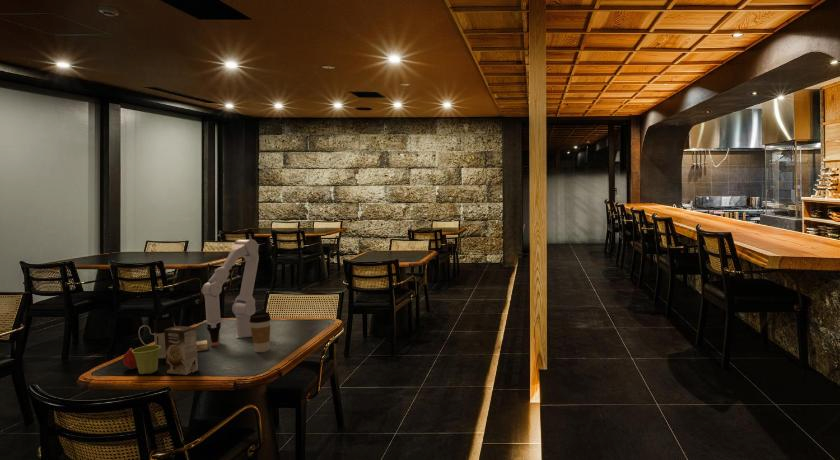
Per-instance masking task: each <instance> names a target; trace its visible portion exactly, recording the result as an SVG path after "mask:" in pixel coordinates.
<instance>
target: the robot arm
mask: <svg viewBox="0 0 840 460" xmlns="http://www.w3.org/2000/svg"><path fill="white" fill-rule="evenodd" d="M259 247H260V245H259V244H258V242H257V241H256V240H255V239H242V238H238V239H236V240H235V242H234V243H233V244H232V246H231V250H230V252H229V254H228V256H227V257H226V259H225V261H224V262H223V264H222V265H221V266H220V267H217V268H215V269H214V273H213V274H212V275H211V276H210V278H209V279H208V281H207V282H206V283H204V284H203V285H202V288H201V290H200V291H201V293H202V294H203V296H204V303H205V319H206V320H203V324H206V329H207V331H208V332H209V333H210V336H211V340H212V343H214V342H218V334H219V335H220V330H221V328H222V326H221V322H222V318H221V308H220V307H221V306H220V305H221V304H220V294H221V293H222V292H223V291H222V290H223V288H222V287H223V285H224V284H225V282H226V280H227V279H228V277H229V276H230V272H229V271H230V269H231V268H232V267H233V266H234V265H235V263H237V261H238V260H239V258H241V257H243V259H244V260H245V264H244V270H243V274H242V280H241V285H240V286H241V287H240V291H239V294H238V295H237V297H236V296H235V297H236V298H235V300H234V303H233V304H232V306H231V307H232V308H231V311H232V313H233V314H234V317H235V323H236V325H235V326H236V333H235V336H236V339H242V338H249V337H251V338H252V332H251V322H249V321H250V316H251V315H253V314H255V313H256V309H257V308H256V299H255V298H254V296H253V293H254V287H255V283H256V282H255V281H256V278H257V277H256V276H257V272H258V265H259V261H260V260H259V259H260V256H259ZM210 336H209V337H210Z"/></svg>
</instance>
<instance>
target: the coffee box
mask: <svg viewBox="0 0 840 460" xmlns="http://www.w3.org/2000/svg"><path fill="white" fill-rule="evenodd" d="M164 335H165V350H166V358H165V362H166V374H173V375H174V374H175V375H181V374H182V376H183V375H184V376H187V375H189V373H190V374H191V372H192V373H194V372H196V371H197V372H198V370H199V367H198V363H199V362H198V351H197V342H196V341H197V328H196V327H195V326H194V327H193V326H182V325H180V326H179V325H175V327H171V328H168V329H165V330H164Z"/></svg>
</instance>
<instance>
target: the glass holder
mask: <svg viewBox="0 0 840 460" xmlns="http://www.w3.org/2000/svg"><path fill="white" fill-rule="evenodd" d="M175 326H176V324H175V317H174V316H162V317H158V318H154V319H153V328H154V329H153V330H154V332H153V333H152V329H151V328H150V326H148V325H141V326H140V327H139V329H138V331H137V333H138V338H139V340H140V341H141V342H140V343H142V344H143V345H144V346H148V344H146V343H145V342H144V341H143V339H142V337H141V334H140V333H141V329H142V328H143V327H147V328H148V330H149V334H150V335H152V336H153V337H154V345H159V346H161V348H160V350H159V354H158V359H166V350H165V335H164V330H165V329H168V328H171V327H175Z"/></svg>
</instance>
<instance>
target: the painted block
mask: <svg viewBox="0 0 840 460" xmlns="http://www.w3.org/2000/svg"><path fill="white" fill-rule="evenodd" d="M220 335H221V334H220V333H219V334H218V342H214V343H212V340H211V336H210V333H209V346H211V347H212V346H221V338H220Z"/></svg>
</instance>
